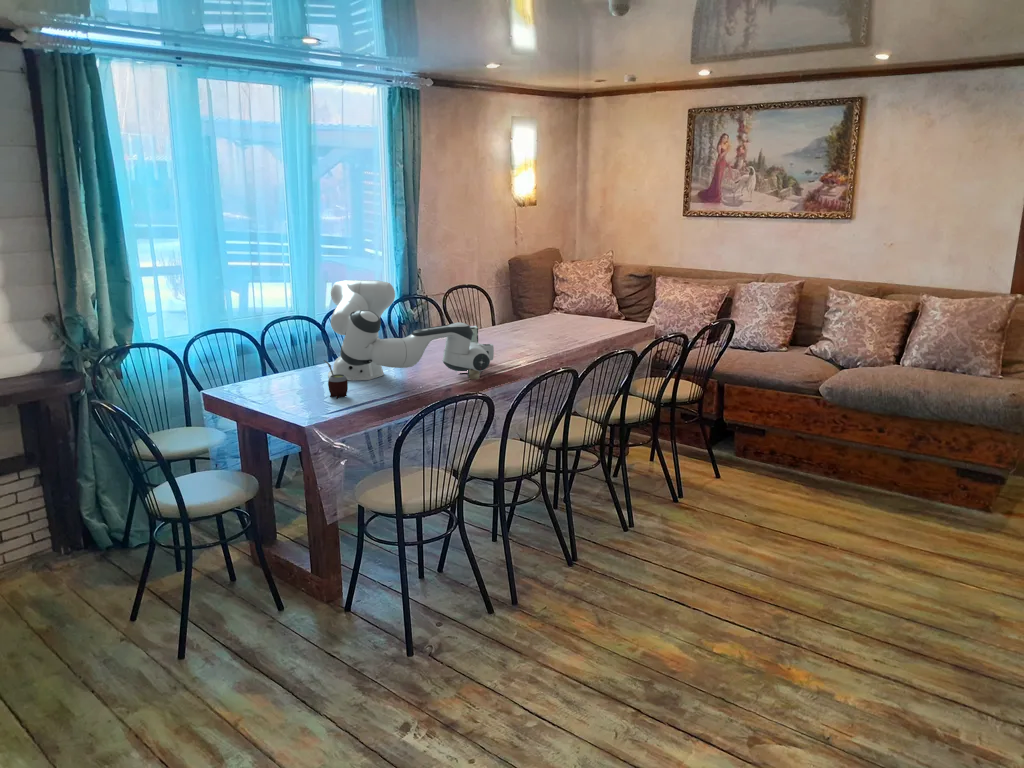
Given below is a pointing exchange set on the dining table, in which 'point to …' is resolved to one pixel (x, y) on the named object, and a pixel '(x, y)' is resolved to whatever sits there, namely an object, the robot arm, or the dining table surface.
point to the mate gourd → (337, 384)
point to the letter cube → (473, 374)
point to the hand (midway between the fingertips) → (466, 346)
